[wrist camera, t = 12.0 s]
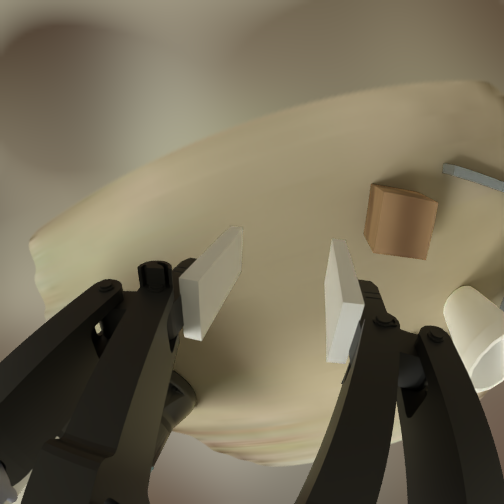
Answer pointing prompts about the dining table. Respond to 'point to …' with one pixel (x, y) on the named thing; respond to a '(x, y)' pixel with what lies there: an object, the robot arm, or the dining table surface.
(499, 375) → the foam cup
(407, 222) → the walnut block
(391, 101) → the dining table surface
